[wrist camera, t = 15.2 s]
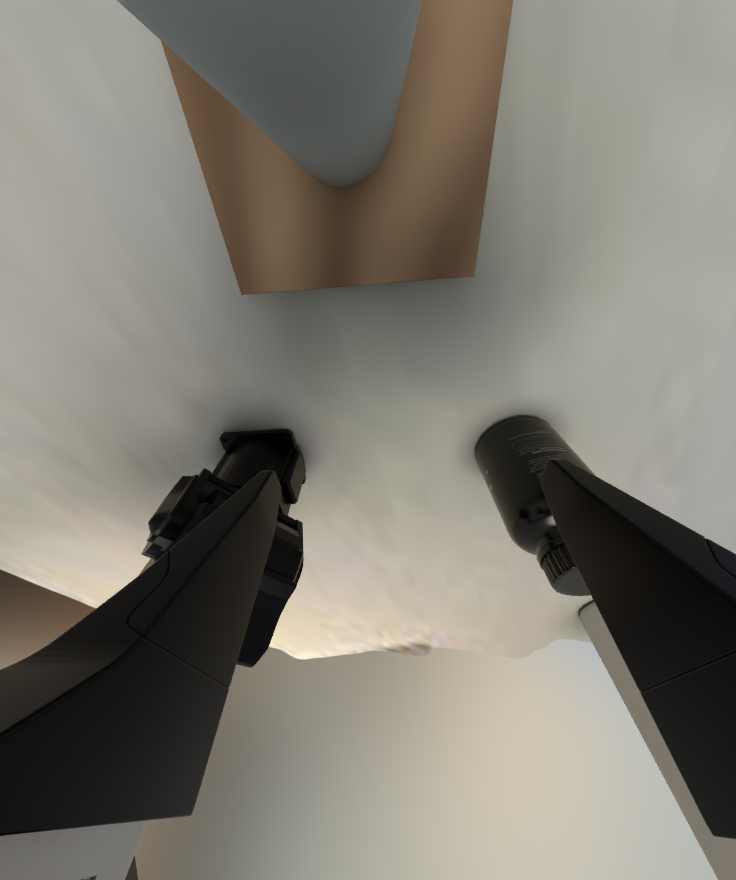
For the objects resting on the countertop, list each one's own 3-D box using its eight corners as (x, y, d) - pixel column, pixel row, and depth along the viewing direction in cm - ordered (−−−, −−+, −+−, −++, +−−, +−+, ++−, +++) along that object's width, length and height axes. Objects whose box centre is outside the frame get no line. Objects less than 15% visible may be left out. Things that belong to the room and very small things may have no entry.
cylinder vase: (585, 594, 43) (767, 908, 23) (677, 586, 41) (966, 924, 21) (571, 624, 50) (700, 881, 30) (649, 618, 48) (843, 891, 28)
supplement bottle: (459, 461, 26) (508, 592, 17) (506, 403, 22) (605, 532, 13) (517, 480, 28) (592, 611, 18) (570, 429, 24) (702, 562, 14)
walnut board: (247, 291, 18) (241, 294, 17) (104, -181, 9) (78, -220, 8) (469, 273, 17) (473, 276, 16) (539, -262, 8) (557, -313, 8)
